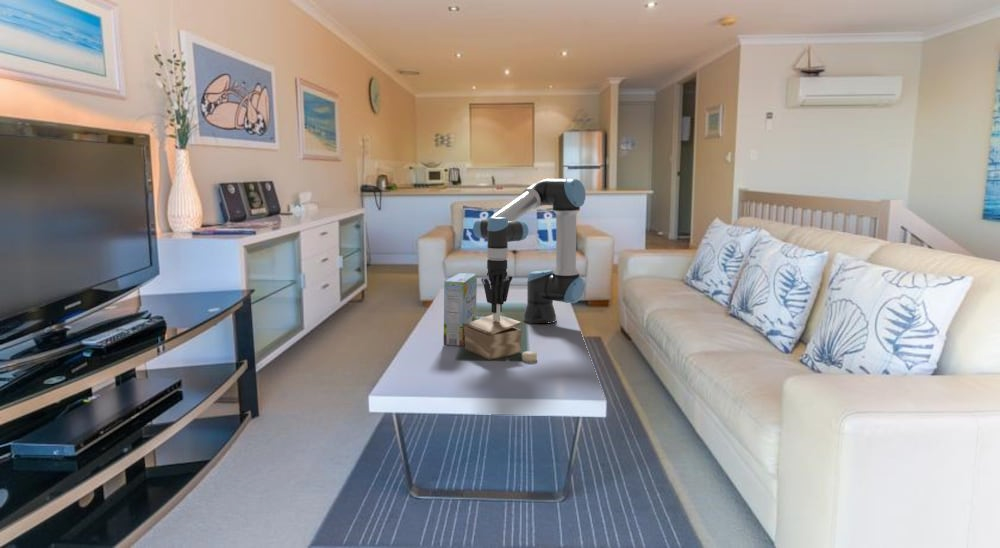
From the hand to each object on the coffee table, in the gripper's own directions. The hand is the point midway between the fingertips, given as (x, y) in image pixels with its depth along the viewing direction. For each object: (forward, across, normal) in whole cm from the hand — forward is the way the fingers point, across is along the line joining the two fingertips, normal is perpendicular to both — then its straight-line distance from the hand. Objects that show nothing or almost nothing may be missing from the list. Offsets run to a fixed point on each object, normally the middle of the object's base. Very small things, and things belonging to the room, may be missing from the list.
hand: (496, 320), depth 215 cm
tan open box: (+12, +2, 0) cm, 12 cm away
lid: (+1, +2, 0) cm, 2 cm away
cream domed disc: (+12, -4, +16) cm, 20 cm away
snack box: (+12, +2, -21) cm, 24 cm away
